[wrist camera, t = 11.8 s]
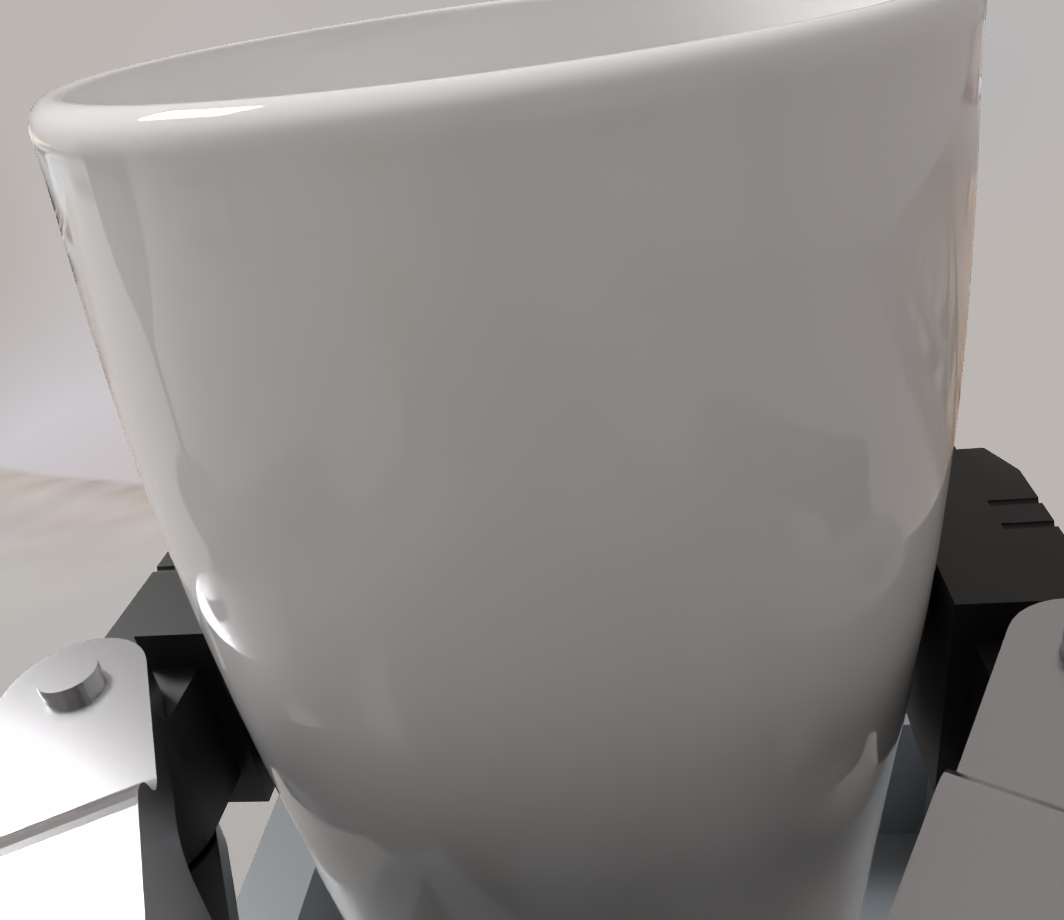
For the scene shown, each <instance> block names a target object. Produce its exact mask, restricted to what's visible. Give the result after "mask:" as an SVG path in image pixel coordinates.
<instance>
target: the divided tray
mask: <svg viewBox="0 0 1064 920" xmlns="http://www.w3.org/2000/svg"><path fill="white" fill-rule="evenodd" d="M933 795H934V793H933V790H932V787H931V784H930V781H929V778H928V775H927V772H926V769H925V767H924V764H923V761H922V758H921V755H920V752H919V749H918V746H917V743H916V740H915V737H914V734H913V731H912V728H911V725H910V722H909V719H908V716H907V713H906V715H905V720H904V724H903V729H902V733H901V738H900V742H899V746H898V751H897V755H896V760H895V764H894V769H893V773H892V777H891V782H890V786H889V791H888V795H887V800H886V804H885V808H884V813H883V817H882V822H881V826H880V830H879V835H878V839H877V844H876V848H875V853H874V857H873V861H872V866H871V870H870V875H869V879H868V884H867V888H866V893H865V897H864V902H863V906H862V911H861V915H860V920H887V918H888V916H889V913H890V910H891V908H892V905H893V902H894V900H895V897H896V894H897V891H898V889H899V886H900V883H901V881H902V878H903V875H904V873H905V870H906V867H907V865H908V862H909V859H910V857H911V854H912V851H913V849H914V846H915V843H916V841H917V838H918V835H919V833H920V830H921V827H922V824H923V822H924V819H925V816H926V814H927V811H928V808H929V806H930V803H931V800H932V798H933ZM236 903H237V909H238V915H239V920H342V918H341V916H340V914H339V912H338V910H337V908H336V906H335V904H334V902H333V900H332V898H331V896H330V894H329V892H328V890H327V888H326V886H325V884H324V882H323V880H322V879H321V877H320V875H319V873H318V871H317V869H316V867H315V865H314V863H313V861H312V859H311V857H310V855H309V853H308V851H307V849H306V847H305V845H304V843H303V841H302V839H301V837H300V835H299V833H298V831H297V829H296V827H295V825H294V823H293V821H292V819H291V817H290V815H289V813H288V811H287V809H286V807H285V805H284V803H283V801H282V799H281V797H280V795H279V796H278V799H277V801H276V804H275V806H274V809H273V811H272V814H271V816H270V819H269V821H268V824H267V826H266V829H265V831H264V834H263V836H262V839H261V841H260V844H259V846H258V848H257V851H256V853H255V856H254V858H253V861H252V863H251V866H250V868H249V871H248V873H247V876H246V878H245V881H244V883H243V886H242V888H241V891H240V893H239V896H238V898H237V901H236Z"/></svg>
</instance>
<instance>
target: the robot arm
mask: <svg viewBox="0 0 1064 920" xmlns="http://www.w3.org/2000/svg"><path fill="white" fill-rule="evenodd" d="M906 713H907V716H908V719H909V722H910V725H911V728H912V731H913V734H914V737H915V740H916V743H917V746H918V749H919V752H920V755H921V758H922V761H923V764H924V767H925V769H926V772H927V775H928V778H929V781H930V784H931V787H932V790H933V793H934V795H933V798H932V800H931V803H930V806H929V808H928V811H927V814H926V816H925V819H924V822H923V824H922V827H921V830H920V833H919V835H918V838H917V841H916V843H915V846H914V849H913V851H912V854H911V857H910V859H909V862H908V865H907V867H906V870H905V873H904V875H903V878H902V881H901V883H900V886H899V889H898V891H897V894H896V897H895V900H894V902H893V905H892V908H891V910H890V913H889V916H888V918H887V920H1064V534H1063V533H1062V531H1061V530H1060V528H1059V527H1055V526H1054V520H1053V518H1052V517H1051V516H1050V514H1049V513H1048V511H1047V510H1046V508H1045V507H1044V505H1043V504H1042V503H1039V502H1038V496H1037V495H1036V494H1035V492H1034V491H1033V489H1032V488H1031V486H1030V485H1029V483H1028V482H1027V480H1026V479H1025V478H1024V476H1023V475H1022V473H1021V472H1020V470H1018V469H1017V468H1015V467H1014V466H1012V465H1010V464H1009V463H1007V462H1006V461H1004V460H1002V459H1001V458H999V457H997V456H996V455H994V454H993V453H991V452H990V451H988V450H986V449H985V448H973V449H957V450H956V448H955V446H954V450H953V458H952V466H951V473H950V480H949V486H948V493H947V500H946V506H945V513H944V520H943V526H942V533H941V539H940V545H939V551H938V557H937V562H936V568H935V573H934V579H933V584H932V590H931V596H930V601H929V607H928V612H927V617H926V622H925V627H924V632H923V636H922V641H921V646H920V651H919V655H918V660H917V665H916V670H915V674H914V679H913V684H912V689H911V693H910V698H909V702H908V706H907V711H906ZM274 788H275V785H274V783H273V781H272V779H271V777H270V775H269V773H268V771H267V769H266V767H265V765H264V763H263V761H262V759H261V757H260V755H259V753H258V751H257V749H256V747H255V745H254V742H253V740H252V738H251V736H250V734H249V732H248V730H247V728H246V726H245V724H244V722H243V720H242V718H241V716H240V714H239V712H238V710H237V707H236V705H235V703H234V701H233V699H232V697H231V695H230V693H229V691H228V689H227V686H226V684H225V682H224V680H223V678H222V676H221V673H220V671H219V669H218V667H217V665H216V662H215V660H214V658H213V656H212V653H211V651H210V649H209V647H208V645H207V642H206V640H205V638H204V636H203V634H202V631H201V629H200V627H199V625H198V622H197V620H196V618H195V615H194V613H193V610H192V608H191V606H190V603H189V601H188V598H187V596H186V594H185V591H184V589H183V586H182V584H181V582H180V579H179V577H178V574H177V572H176V570H175V567H174V565H173V562H172V559H171V557H170V554H169V552H167V554H166V555H165V556H164V558H163V559H162V561H161V562H160V563H159V565H158V566H157V572H153V573H152V574H151V575H150V577H149V578H148V580H147V581H146V582H145V584H144V585H143V586H142V588H141V589H140V590H139V592H138V593H137V594H136V596H135V597H134V599H133V600H132V601H131V603H130V604H129V605H128V607H127V608H126V609H125V611H124V612H123V614H122V615H121V616H120V618H119V619H118V620H117V622H116V623H115V624H114V626H113V627H112V628H111V630H110V631H109V633H108V634H107V635H106V637H105V638H101V639H94V640H89V641H85V642H81V643H78V644H74V645H72V646H69V647H66V648H64V649H61V650H59V651H57V652H55V653H53V654H51V655H49V656H47V657H46V658H44V659H42V660H40V661H39V662H37V663H36V664H34V665H33V666H31V667H30V668H29V669H27V670H26V671H25V672H24V673H23V674H21V675H20V676H19V677H18V678H17V679H16V680H15V681H14V682H13V683H12V684H11V685H10V686H9V688H8V689H7V690H6V692H5V693H4V694H3V696H2V698H1V700H0V920H239V915H238V909H237V903H236V897H235V891H234V884H233V878H232V872H231V866H230V860H229V854H228V848H227V843H226V840H225V837H224V834H223V832H222V830H221V828H220V825H219V821H220V819H221V817H222V814H223V812H224V810H225V808H226V806H227V804H228V802H259V801H269V800H270V798H271V795H272V793H273V790H274Z"/></svg>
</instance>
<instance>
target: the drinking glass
mask: <svg viewBox="0 0 1064 920" xmlns="http://www.w3.org/2000/svg"><path fill="white" fill-rule="evenodd" d="M986 12H987V1H986V0H498V1H490V2H483V3H476V4H469V5H462V6H455V7H448V8H441V9H434V10H428V11H421V12H415V13H407V14H401V15H395V16H388V17H381V18H375V19H369V20H362V21H356V22H350V23H344V24H338V25H332V26H326V27H320V28H315V29H308V30H303V31H297V32H291V33H285V34H280V35H274V36H268V37H263V38H258V39H252V40H247V41H242V42H237V43H231V44H226V45H221V46H216V47H211V48H206V49H201V50H196V51H191V52H186V53H182V54H177V55H172V56H167V57H164V58H159V59H155V60H150V61H145V62H141V63H137V64H133V65H129V66H125V67H121V68H117V69H113V70H109V71H106V72H102V73H99V74H95V75H91V76H88V77H85V78H82V79H79V80H76V81H73V82H70V83H67V84H65V85H62V86H60V87H57V88H55V89H53V90H51V91H49V92H47V93H46V94H44V95H43V96H42V97H41V98H40V99H39V100H38V101H37V102H36V103H35V104H34V105H33V107H32V109H31V111H30V114H29V122H28V128H29V135H30V139H31V142H32V145H33V147H34V149H35V152H36V155H37V158H38V161H39V163H40V166H41V169H42V172H43V176H44V179H45V182H46V185H47V188H48V191H49V195H50V198H51V201H52V205H53V208H54V211H55V214H56V218H57V221H58V225H59V228H60V231H61V235H62V238H63V241H64V245H65V248H66V252H67V255H68V258H69V262H70V265H71V268H72V272H73V275H74V278H75V282H76V285H77V288H78V291H79V295H80V298H81V301H82V304H83V308H84V311H85V314H86V317H87V320H88V324H89V327H90V330H91V333H92V336H93V339H94V342H95V346H96V349H97V352H98V355H99V358H100V361H101V364H102V367H103V371H104V374H105V377H106V380H107V383H108V385H109V389H110V392H111V395H112V398H113V401H114V403H115V406H116V409H117V412H118V415H119V418H120V421H121V424H122V427H123V430H124V433H125V436H126V439H127V442H128V444H129V447H130V450H131V453H132V456H133V458H134V461H135V464H136V467H137V469H138V472H139V475H140V478H141V480H142V483H143V486H144V489H145V491H146V494H147V497H148V500H149V503H150V505H151V508H152V510H153V513H154V516H155V518H156V521H157V523H158V526H159V529H160V531H161V534H162V536H163V539H164V541H165V544H166V547H167V549H168V552H169V554H170V557H171V559H172V562H173V565H174V567H175V570H176V572H177V574H178V577H179V579H180V582H181V584H182V586H183V589H184V591H185V594H186V596H187V598H188V601H189V603H190V606H191V608H192V610H193V613H194V615H195V618H196V620H197V622H198V625H199V627H200V629H201V631H202V634H203V636H204V638H205V640H206V642H207V645H208V647H209V649H210V651H211V653H212V656H213V658H214V660H215V662H216V665H217V667H218V669H219V671H220V673H221V676H222V678H223V680H224V682H225V684H226V686H227V689H228V691H229V693H230V695H231V697H232V699H233V701H234V703H235V705H236V707H237V710H238V712H239V714H240V716H241V718H242V720H243V722H244V724H245V726H246V728H247V730H248V732H249V734H250V736H251V738H252V740H253V742H254V745H255V747H256V749H257V751H258V753H259V755H260V757H261V759H262V761H263V763H264V765H265V767H266V769H267V771H268V773H269V775H270V777H271V779H272V781H273V783H274V785H275V787H276V789H277V791H278V793H279V795H280V797H281V799H282V801H283V803H284V805H285V807H286V809H287V811H288V813H289V815H290V817H291V819H292V821H293V823H294V825H295V827H296V829H297V831H298V833H299V835H300V837H301V839H302V841H303V843H304V845H305V847H306V849H307V851H308V853H309V855H310V857H311V859H312V861H313V863H314V865H315V867H316V869H317V871H318V873H319V875H320V877H321V879H322V880H323V882H324V884H325V886H326V888H327V890H328V892H329V894H330V896H331V898H332V900H333V902H334V904H335V906H336V908H337V910H338V912H339V914H340V916H341V918H342V920H860V915H861V911H862V906H863V902H864V897H865V893H866V888H867V884H868V879H869V875H870V870H871V866H872V861H873V857H874V853H875V848H876V844H877V839H878V835H879V830H880V826H881V822H882V817H883V813H884V808H885V804H886V800H887V795H888V791H889V786H890V782H891V777H892V773H893V769H894V764H895V760H896V755H897V751H898V746H899V742H900V738H901V733H902V729H903V724H904V720H905V715H906V711H907V706H908V702H909V698H910V693H911V689H912V684H913V679H914V674H915V670H916V665H917V660H918V655H919V651H920V646H921V641H922V636H923V632H924V627H925V622H926V617H927V612H928V607H929V601H930V596H931V590H932V584H933V579H934V573H935V568H936V562H937V557H938V551H939V545H940V539H941V533H942V526H943V520H944V513H945V506H946V500H947V493H948V486H949V480H950V473H951V466H952V458H953V450H954V442H955V433H956V425H957V418H958V410H959V401H960V392H961V382H962V372H963V361H964V352H965V343H966V333H967V320H968V307H969V296H970V283H971V271H972V256H973V240H974V225H975V209H976V190H977V170H978V150H979V126H980V102H981V79H982V76H981V75H982V58H983V42H984V29H985V20H986Z"/></svg>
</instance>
